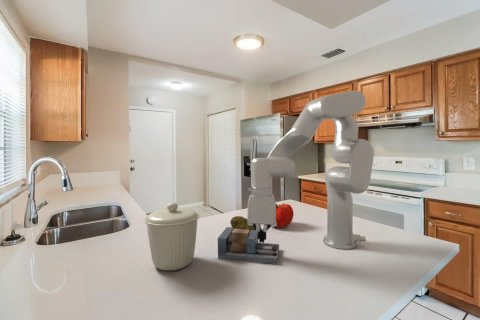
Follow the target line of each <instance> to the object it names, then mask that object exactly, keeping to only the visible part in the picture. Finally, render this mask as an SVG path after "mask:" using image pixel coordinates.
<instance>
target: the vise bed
mask: <svg viewBox="0 0 480 320" xmlns="http://www.w3.org/2000/svg"><path fill="white" fill-rule="evenodd" d="M233 230H234V228H232V226H231V227H230V226H229V227H228V226H227V227H225V228H224V230H223V231H222V232H221V234H220V235H219V236H218V237H217V259H218V260H226V261H238V262H245V263H247V262H248V263H259V264H266V265H268V264H269V265H278V263H279V256H280V255H279V253H280V244H279V243H269V242H264V243H262V242H261V243H259V242H258V245H260V246H276V247H277V251H275V252H274V251H272V250H260V249H257V251H256V254H255V255H254V254H247V252H239V251H232V231H233Z"/></svg>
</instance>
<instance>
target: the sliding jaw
mask: <svg viewBox="0 0 480 320" xmlns="http://www.w3.org/2000/svg"><path fill="white" fill-rule="evenodd" d="M258 243H259V239H258V231H257V230H251V231H250V233H249V235H248V237H247V239H246V249H247V254H254V255H255V254H256V251H257V249H260V250H272V251H274V252H275V251H277V247H276V246H260V245H258Z"/></svg>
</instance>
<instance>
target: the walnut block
mask: <svg viewBox="0 0 480 320" xmlns="http://www.w3.org/2000/svg"><path fill="white" fill-rule="evenodd" d="M249 233H250V230H248V229H234V230H233V231H232V251H239V252H247V249H246V239H247V237H248V235H249Z"/></svg>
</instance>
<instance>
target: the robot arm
mask: <svg viewBox="0 0 480 320" xmlns="http://www.w3.org/2000/svg"><path fill="white" fill-rule="evenodd" d="M366 105H367V100H366V95H364V93H362V91H359V90H350V91H345V92H338V93H335V94H327V95H324V96H321V97H317V98H315V99H312V100H310V101H309V102H307V104H306V105H305V106H304V108H302V109H303V110H302V111H301V112H300V114H299V116H298V117H297V119H296V121H295V122H294V124H293V125H292V127H291V128H290V129H289V130H288V132H287V133H285V135H284V136H282V137H281V138H280V140H278V142H276V144H275V145H274V146H273V148H272V149H271V151H270V152H269V153H268V156H267V157H254V158H252V160H251V164H250V166H251V167H250V169H251V172H250V174H251V175H250V177H251V178H250V179H251V180H250V181H251V182H250V183H251V184H250V185H251V187H248V188H247V189H246V190H247V192H248V193H250V195H249V196H248V201H247V215H246V216H247V218H246V219H247V220H248V222H247V224H248V225H250V226H253V227H254V228H255V229H256V230H257V231H258V243H265V241H266V240H267V231H268V230H269V229H271V228H276V227H275V226H277V223H276V206H275V203H276V199H275V195H274V194H273V178H282V179H285V178H290V177H291V176H292V175H294V173H295V171H296V164H295V161H293V159H291V158H289V156H291V155H292V154H293V153H294V152H295V151H297V150H298V149H300V148H302V147H304V146H306V145H307V144H309V143H310V142H311V140H312V139H313V137H314V135H315V134H316V132H317V130H318V129H319V127H320V126H321V124H322V122H323V121H326V120H327V121H328V120H332V122H333V123H334V128H335V130H334V131H335V132H334V134H335V135H334V139H333V146H332V159H333V160H334V161H335V162H337V163H340V164H347V165H348V164H349V166H342V165H341V166H339V165H337V166H332V167H331V168H328V170H327V171H326V172H325V177H324V182H325V188H326V194H327V195H326V198H327V203H326V204H327V205H326V206H327V207H326V208H327V209H326V210H327V219H326V220H327V224H326V225H327V228H326V235H325V236H324V237H323V239H322V241H323V243H324V244H326V246H329V247H331V248H336V249H339V250H341V249H342V250H351V249H355V248H356V247H357V245H358V243H357V242H366V241H367V240H366V239H367V238H366V236H361V234H355V233H354V232H353V227H354V226H353V223H354V222H353V219H354V218H353V217H354V216H353V215H354V214H353V207H354V202H353V201H354V200H353V196H352V194H355V195H356V194H363V193H364V192H366V191H367V189H368V188H369V186H370V182H371V180H372V179H371V177H372V171H373V164H374V158H375V157H374V156H375V153H374V152H375V151H374V148H373V146H372V144H371V142H370V141H368V140H367V139H361V138H358V137H359V125H358V122H357V120H356V119H355V117H354V116H353V115H356V114H359V113H361V112H362V111H363V110H364V108H365V107H366ZM261 225H263V228H262V227H261Z"/></svg>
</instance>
